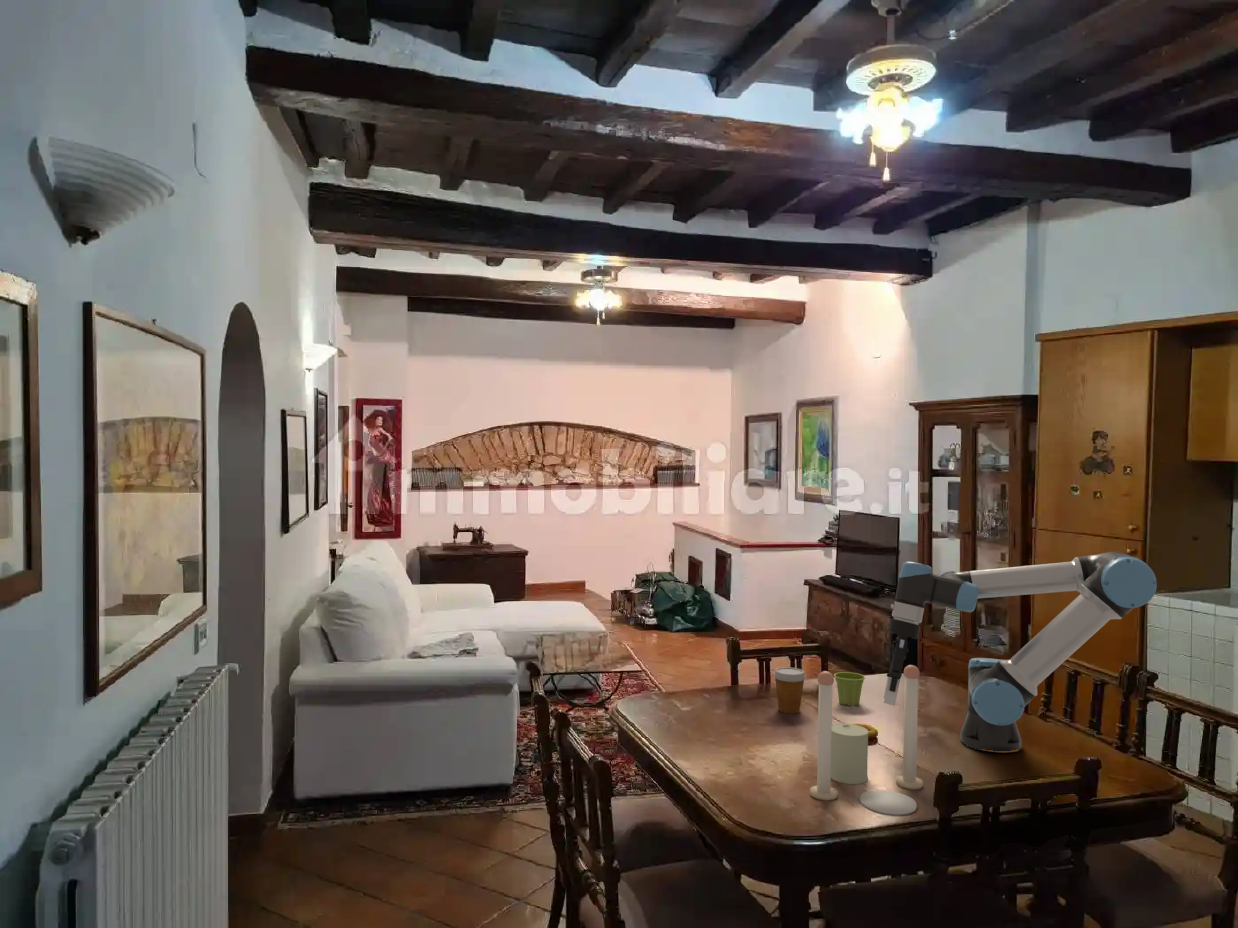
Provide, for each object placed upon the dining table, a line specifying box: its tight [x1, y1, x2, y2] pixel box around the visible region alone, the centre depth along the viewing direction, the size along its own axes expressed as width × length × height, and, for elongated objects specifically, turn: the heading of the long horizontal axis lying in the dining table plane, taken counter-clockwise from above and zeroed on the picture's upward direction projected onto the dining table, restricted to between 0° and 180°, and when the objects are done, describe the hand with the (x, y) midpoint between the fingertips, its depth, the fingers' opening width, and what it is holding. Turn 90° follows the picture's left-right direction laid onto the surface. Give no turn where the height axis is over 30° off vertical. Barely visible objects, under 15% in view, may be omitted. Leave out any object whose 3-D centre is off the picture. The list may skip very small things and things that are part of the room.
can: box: [831, 723, 869, 785], centre depth 205 cm, size 9×9×12 cm
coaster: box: [859, 789, 917, 816], centre depth 189 cm, size 12×12×1 cm
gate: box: [809, 664, 924, 801], centre depth 197 cm, size 29×6×28 cm, turn 107°
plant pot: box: [833, 671, 866, 707], centre depth 266 cm, size 9×9×9 cm
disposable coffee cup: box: [773, 666, 807, 714], centre depth 257 cm, size 10×10×12 cm
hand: (888, 701), depth 220 cm, fingers open, 13 cm apart
